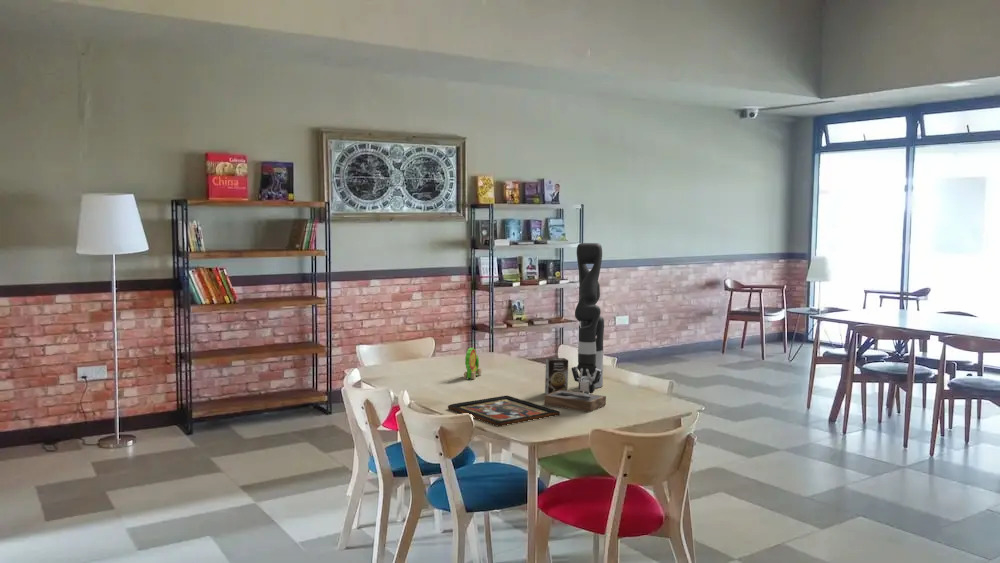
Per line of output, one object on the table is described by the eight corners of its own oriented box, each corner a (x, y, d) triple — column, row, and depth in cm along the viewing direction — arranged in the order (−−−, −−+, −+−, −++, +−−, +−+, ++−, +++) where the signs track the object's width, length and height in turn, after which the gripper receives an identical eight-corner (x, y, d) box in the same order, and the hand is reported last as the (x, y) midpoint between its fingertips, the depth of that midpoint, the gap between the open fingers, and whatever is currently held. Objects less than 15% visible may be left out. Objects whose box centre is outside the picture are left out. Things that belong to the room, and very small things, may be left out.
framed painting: (439, 411, 332) (440, 404, 332) (501, 399, 357) (501, 393, 357) (505, 430, 305) (505, 423, 305) (566, 416, 330) (566, 409, 329)
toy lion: (471, 374, 410) (472, 344, 409) (482, 375, 409) (482, 345, 408) (461, 380, 395) (462, 349, 394) (472, 381, 394) (472, 350, 392)
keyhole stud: (584, 401, 344) (584, 379, 343) (593, 403, 342) (593, 380, 341) (579, 403, 341) (579, 381, 340) (588, 405, 338) (588, 382, 337)
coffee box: (548, 396, 361) (548, 360, 360) (544, 393, 368) (545, 357, 366) (568, 395, 363) (568, 359, 362) (564, 392, 369) (564, 357, 368)
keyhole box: (560, 398, 356) (560, 389, 356) (605, 405, 344) (605, 396, 344) (544, 404, 345) (544, 395, 344) (590, 411, 332) (590, 402, 332)
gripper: (606, 352, 339) (605, 393, 340) (576, 349, 347) (575, 388, 348) (598, 354, 332) (597, 396, 334) (567, 351, 340) (567, 391, 342)
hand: (586, 392), depth 341 cm, fingers closed on keyhole stud, 4 cm apart
